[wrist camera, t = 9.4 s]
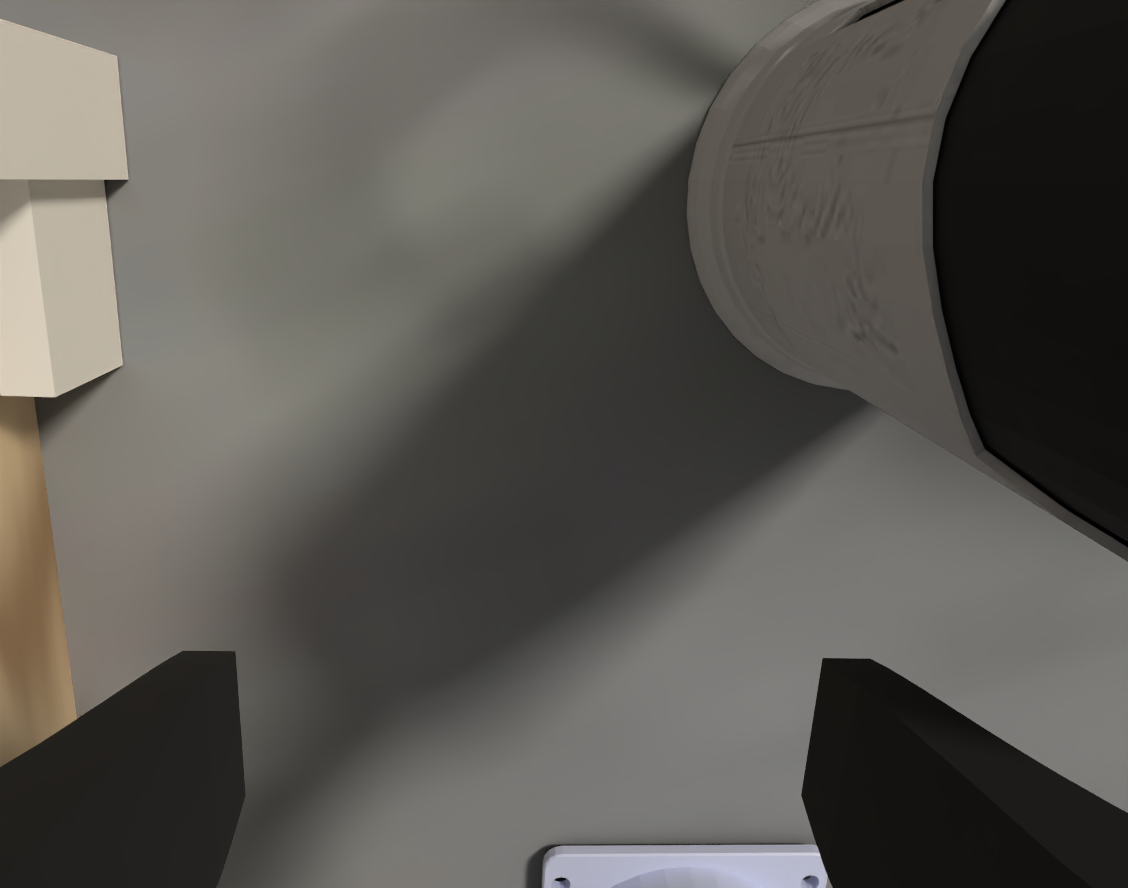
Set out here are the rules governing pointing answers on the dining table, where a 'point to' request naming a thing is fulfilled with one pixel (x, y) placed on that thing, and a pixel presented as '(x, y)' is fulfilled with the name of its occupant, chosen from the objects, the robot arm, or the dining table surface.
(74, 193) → the post
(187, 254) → the dining table surface
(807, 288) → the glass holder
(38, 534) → the rail
